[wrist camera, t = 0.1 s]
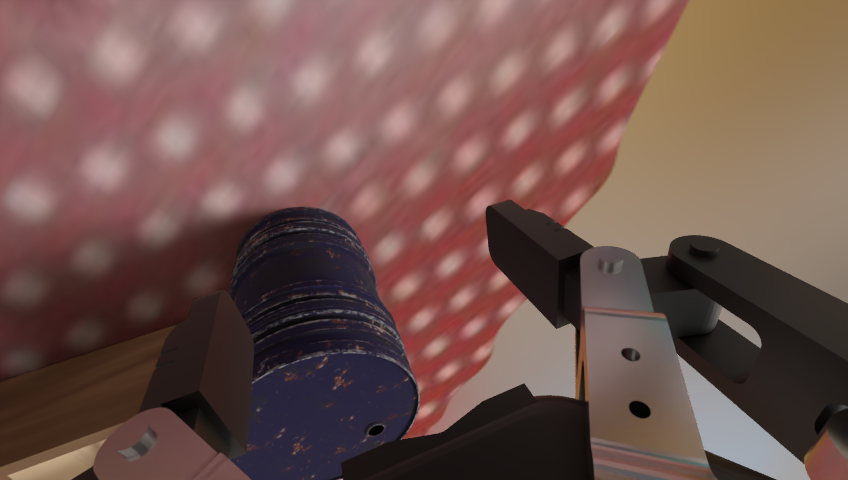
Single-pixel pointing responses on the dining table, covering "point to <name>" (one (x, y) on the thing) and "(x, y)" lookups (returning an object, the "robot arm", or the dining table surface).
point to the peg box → (73, 408)
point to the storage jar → (317, 349)
